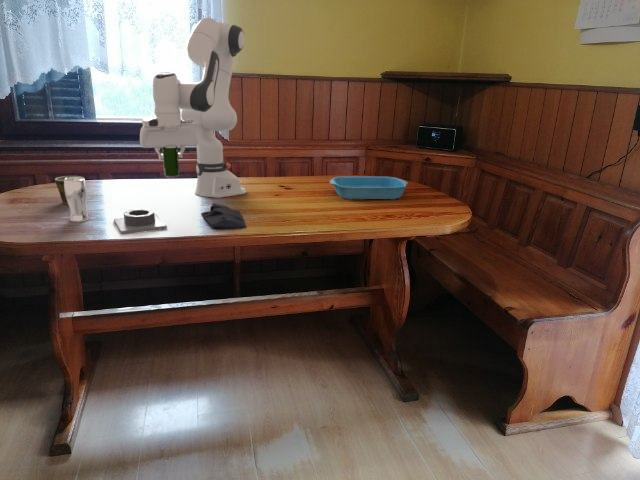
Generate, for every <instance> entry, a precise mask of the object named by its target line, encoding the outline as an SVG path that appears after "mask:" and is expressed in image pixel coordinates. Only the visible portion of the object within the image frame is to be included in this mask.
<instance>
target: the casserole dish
mask: <svg viewBox="0 0 640 480" xmlns="http://www.w3.org/2000/svg"><path fill="white" fill-rule="evenodd" d="M329 183H330V185H332V186H334V187H333V188H334V190H335V192H336V193H337V194H338V196H339V197H340V198H342V199H344V198H348V199H347V200H352V199H391V200H397V199H396V198H398V199H399V198H401V197H402V196H403V194H404V192H405V189H406V187H407V185H408V181H406V180H404V179H401V178H398V177H393V176H359V175H358V176H355V175H354V176H353V175H351V176H350V175H349V176H347V175H346V176H344V175H343V176H336V177H335V176H334V177H333V178H332V179H330V180H329Z"/></svg>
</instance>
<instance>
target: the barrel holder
mask: <svg viewBox="0 0 640 480" xmlns="http://www.w3.org/2000/svg"><path fill="white" fill-rule="evenodd" d="M113 222H114V224H115V226H116V227H117V229H118V231H119V232H120V234H121V235H128V234H136V233H145V231H146V232H153V230H154V231H161V230H167V229H168V226H167V224H166V223H165V222H164V221H163V220H162V218H161V217H160V216H159V215H158V214H155V211H153V210H152V209H148V208H135V209H130V210H126V211H124V212H123V217H118V218H117V217H116V218H113Z"/></svg>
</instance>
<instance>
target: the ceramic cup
mask: <svg viewBox="0 0 640 480" xmlns="http://www.w3.org/2000/svg"><path fill="white" fill-rule="evenodd" d="M69 177H82V176H79V175H64V176H59V177H55V179H54V181H55V185H56V187H57V189H58V193H59V196H60V199H61V201H62V204H63V205H66V206H69V205H68V202H67V199H66V195H65V189H64V179H65V178H69Z"/></svg>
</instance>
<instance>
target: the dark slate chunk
mask: <svg viewBox="0 0 640 480" xmlns="http://www.w3.org/2000/svg"><path fill="white" fill-rule="evenodd" d="M200 214H201V216H202V217H203V219H204V220H205V221H206V222H207V223H208V224H209V226H211V227H212V228H214V229H235V230H236V229H240V230H241V229H246V228H247V225H246V221H245V220H244V217H243V216H242V213H241V212H240V210H238V209H233V208H231V207H230V206H227V205H225V204H220V203H217V202H213V203H212V204H211V206H210V209H209V211H204V212H201V213H200Z"/></svg>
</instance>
